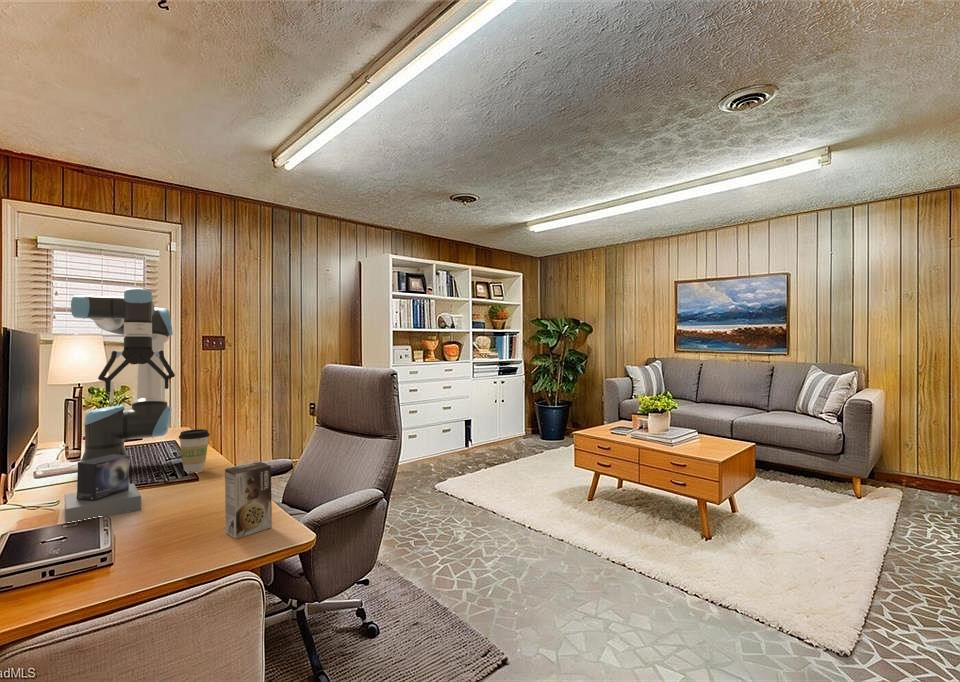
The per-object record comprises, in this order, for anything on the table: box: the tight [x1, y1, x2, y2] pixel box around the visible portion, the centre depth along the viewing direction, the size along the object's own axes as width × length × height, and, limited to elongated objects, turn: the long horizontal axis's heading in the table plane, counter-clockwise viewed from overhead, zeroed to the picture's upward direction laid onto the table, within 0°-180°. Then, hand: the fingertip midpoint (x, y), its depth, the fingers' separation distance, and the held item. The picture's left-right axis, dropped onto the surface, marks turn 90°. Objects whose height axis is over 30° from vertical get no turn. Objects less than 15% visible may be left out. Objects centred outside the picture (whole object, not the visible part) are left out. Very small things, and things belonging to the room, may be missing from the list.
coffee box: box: [224, 461, 273, 539], centre depth 118 cm, size 9×6×16 cm
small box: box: [76, 454, 130, 501], centre depth 134 cm, size 11×6×10 cm, turn 168°
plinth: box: [64, 483, 142, 524], centre depth 134 cm, size 16×16×4 cm
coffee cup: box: [178, 428, 210, 473], centre depth 172 cm, size 10×10×15 cm
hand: (137, 400), depth 153 cm, fingers open, 13 cm apart
